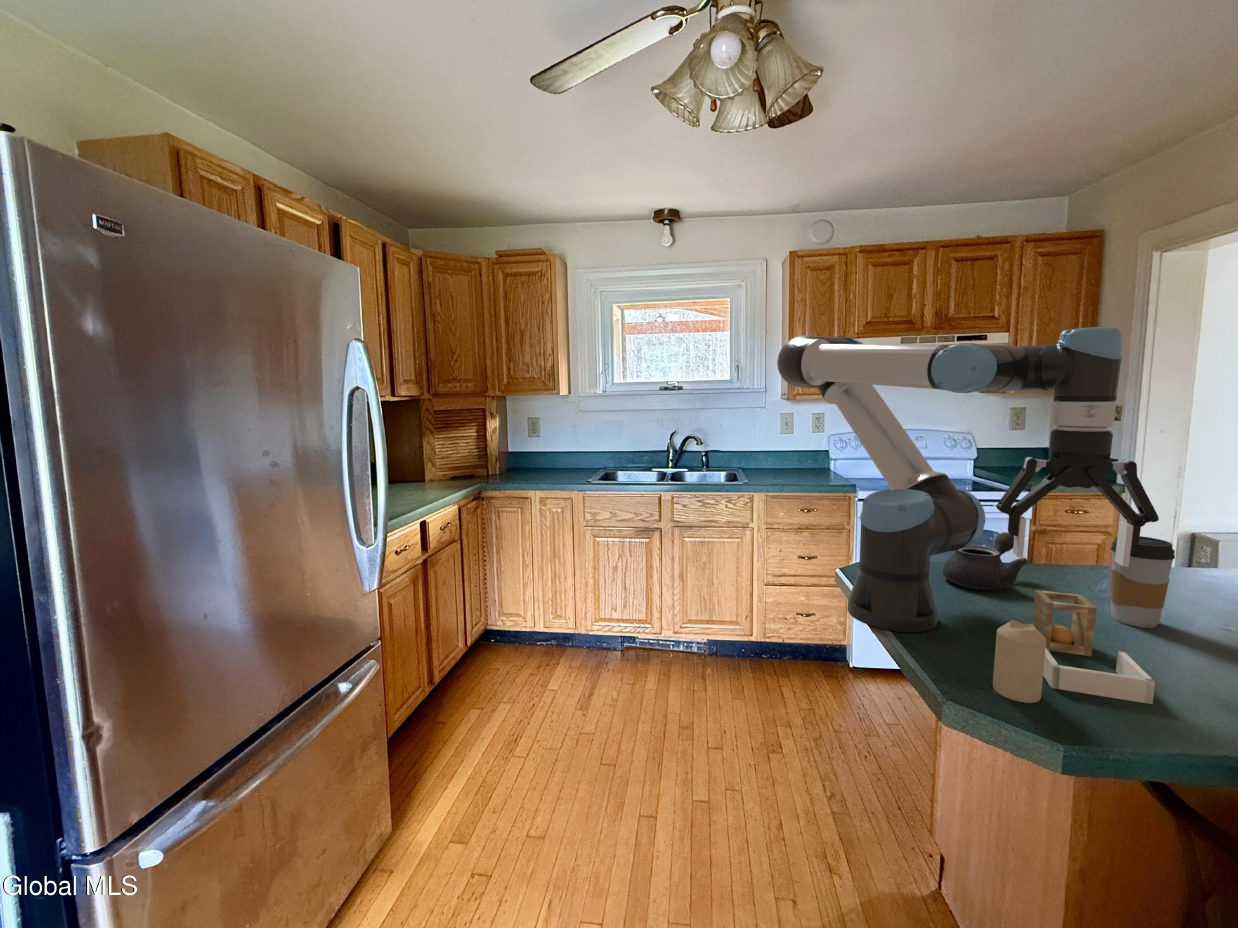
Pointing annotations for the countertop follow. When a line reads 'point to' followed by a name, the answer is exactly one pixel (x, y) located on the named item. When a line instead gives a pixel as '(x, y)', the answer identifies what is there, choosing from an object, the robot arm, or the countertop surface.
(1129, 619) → the coffee cup
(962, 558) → the teapot
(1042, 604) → the wooden cage
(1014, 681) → the candle
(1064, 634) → the ball
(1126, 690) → the white u-shaped corral
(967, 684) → the countertop surface
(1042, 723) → the countertop surface
